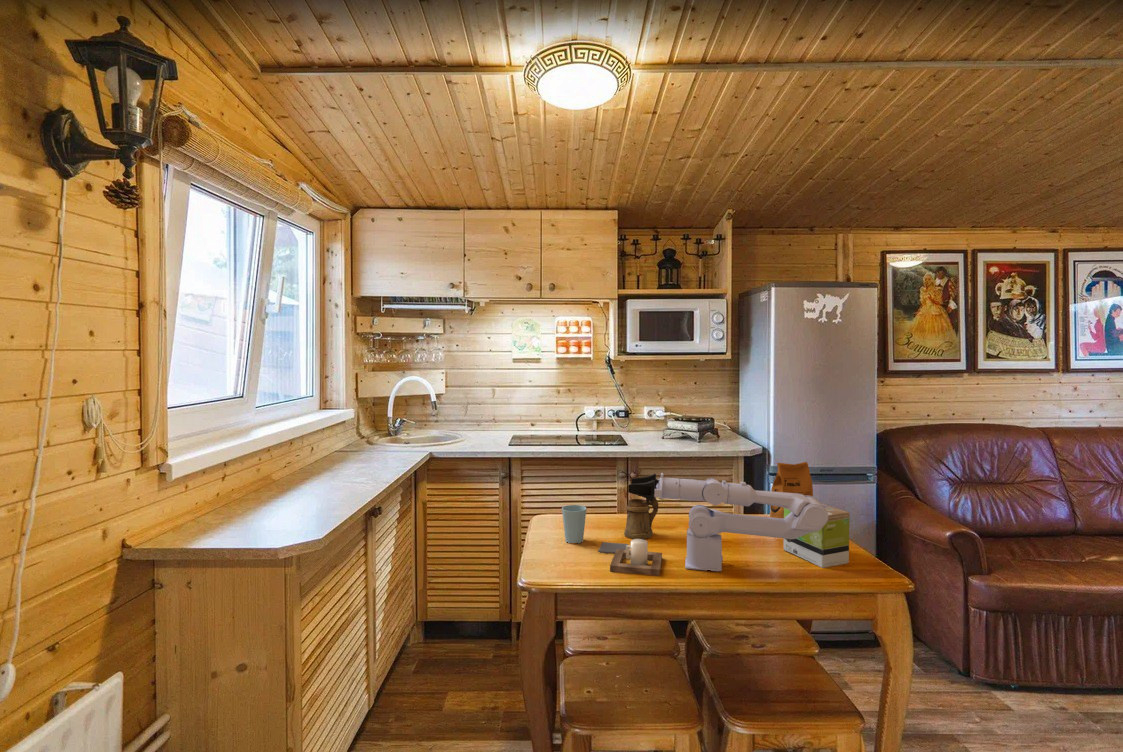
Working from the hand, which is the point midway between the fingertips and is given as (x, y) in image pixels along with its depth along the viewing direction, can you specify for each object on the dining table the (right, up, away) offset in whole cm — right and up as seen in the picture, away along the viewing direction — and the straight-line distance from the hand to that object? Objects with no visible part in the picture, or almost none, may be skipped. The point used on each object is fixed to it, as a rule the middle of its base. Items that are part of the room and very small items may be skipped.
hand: (629, 485), depth 155 cm
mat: (-4, -21, +9) cm, 23 cm away
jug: (+2, -21, -3) cm, 22 cm away
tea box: (+53, -21, +2) cm, 57 cm away
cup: (-15, -21, +17) cm, 31 cm away
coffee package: (+58, -20, +30) cm, 68 cm away
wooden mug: (+8, -21, +23) cm, 32 cm away
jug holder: (+2, -21, -3) cm, 22 cm away
